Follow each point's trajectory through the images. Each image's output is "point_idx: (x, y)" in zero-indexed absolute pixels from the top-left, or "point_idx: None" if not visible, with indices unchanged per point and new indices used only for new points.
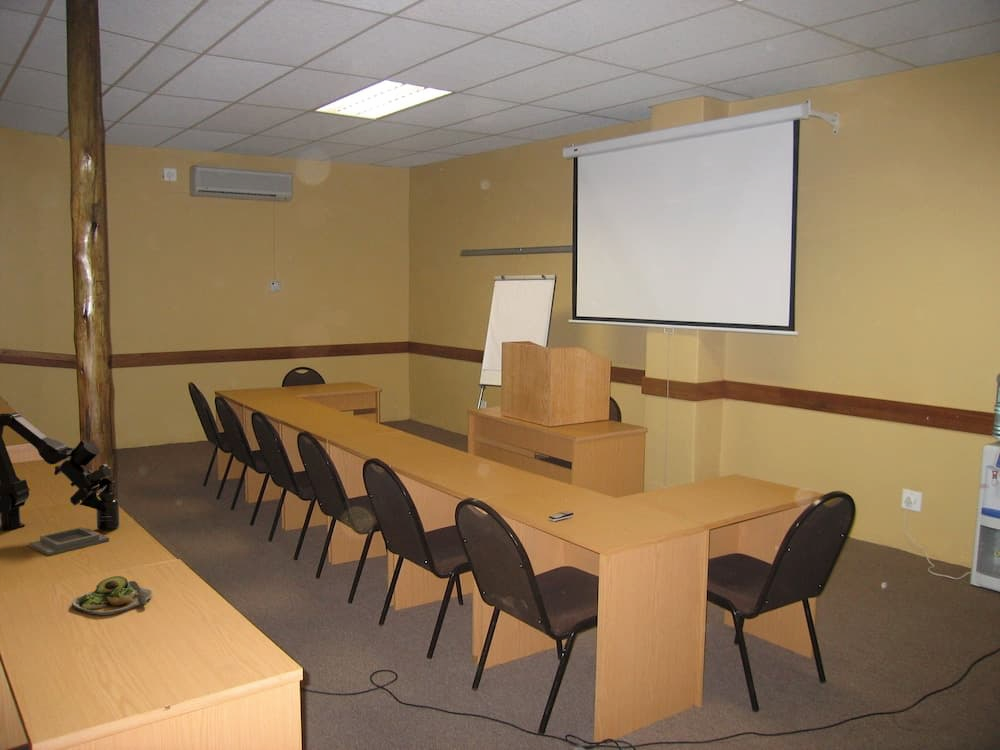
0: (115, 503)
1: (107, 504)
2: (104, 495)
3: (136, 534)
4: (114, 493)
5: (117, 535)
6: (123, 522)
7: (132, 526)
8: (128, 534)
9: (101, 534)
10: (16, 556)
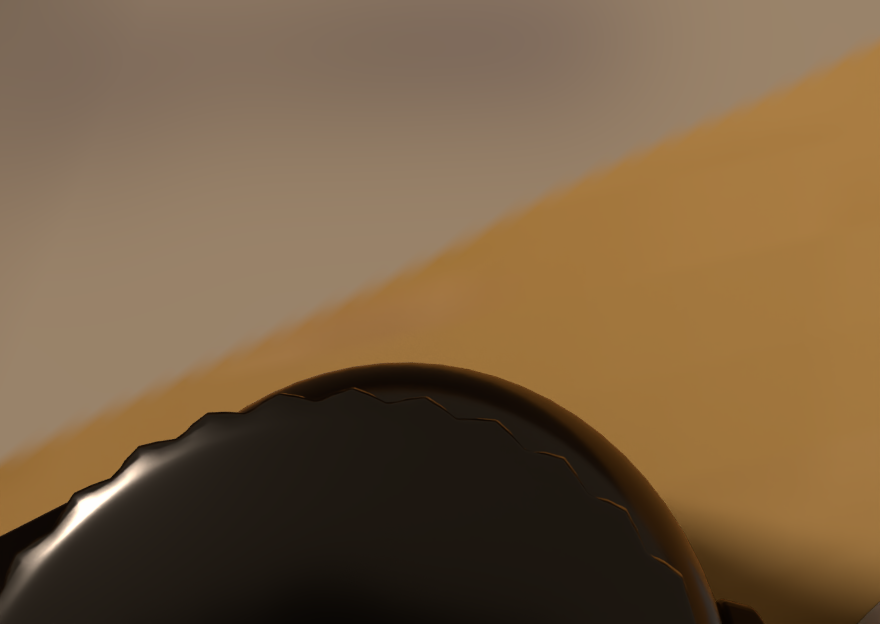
0: (549, 405)
1: (713, 613)
2: None
3: (782, 150)
4: (435, 403)
5: (809, 376)
6: None
7: (407, 283)
8: (774, 245)
9: None
10: None
